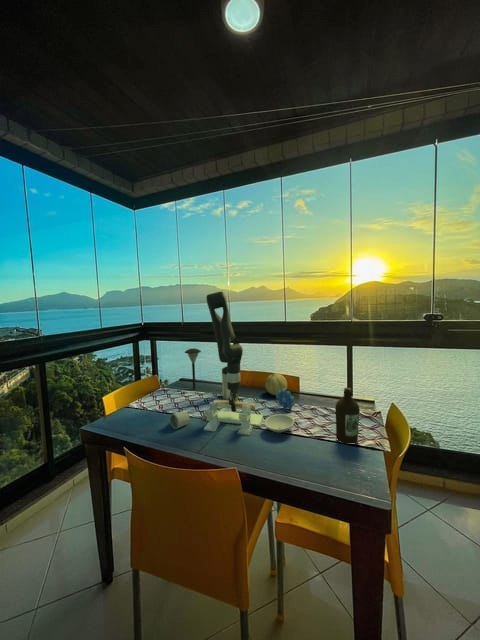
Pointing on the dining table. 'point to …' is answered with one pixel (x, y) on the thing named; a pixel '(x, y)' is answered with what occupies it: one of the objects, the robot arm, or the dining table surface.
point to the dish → (279, 422)
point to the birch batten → (237, 404)
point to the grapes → (285, 399)
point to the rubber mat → (237, 418)
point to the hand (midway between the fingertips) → (234, 409)
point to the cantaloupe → (275, 383)
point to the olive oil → (347, 418)
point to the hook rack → (214, 423)
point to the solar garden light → (193, 361)
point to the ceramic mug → (179, 419)
